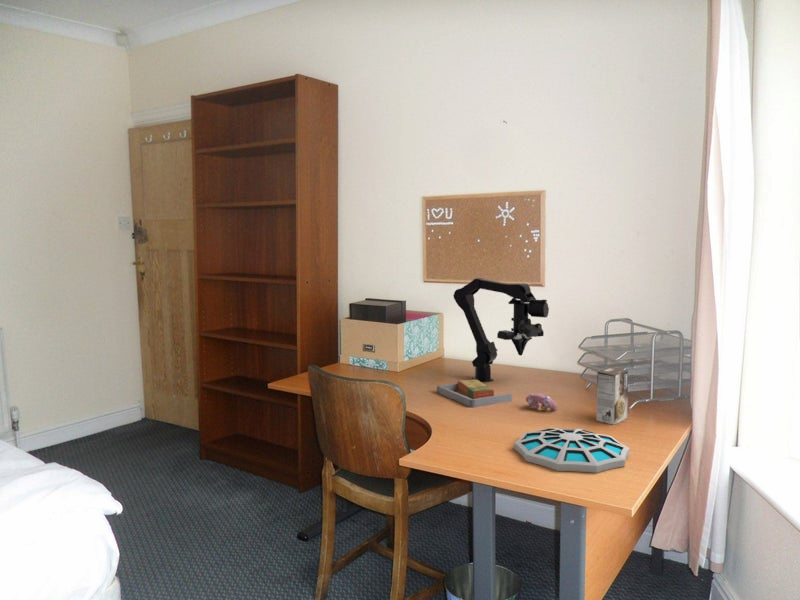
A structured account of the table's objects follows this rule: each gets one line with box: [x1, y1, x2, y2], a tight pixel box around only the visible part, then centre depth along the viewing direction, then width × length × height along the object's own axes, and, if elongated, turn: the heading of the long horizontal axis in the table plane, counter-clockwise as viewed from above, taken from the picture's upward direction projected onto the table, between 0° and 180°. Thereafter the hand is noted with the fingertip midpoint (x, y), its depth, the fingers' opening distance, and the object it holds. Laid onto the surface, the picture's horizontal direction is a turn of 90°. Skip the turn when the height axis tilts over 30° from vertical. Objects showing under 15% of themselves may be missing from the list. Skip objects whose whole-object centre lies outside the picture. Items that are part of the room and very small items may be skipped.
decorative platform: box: [513, 427, 631, 474], centre depth 168 cm, size 31×29×5 cm
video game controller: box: [525, 392, 558, 412], centre depth 209 cm, size 10×5×7 cm, turn 49°
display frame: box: [436, 382, 513, 408], centre depth 226 cm, size 23×17×2 cm
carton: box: [457, 379, 495, 399], centre depth 229 cm, size 8×16×4 cm, turn 15°
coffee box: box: [596, 366, 629, 426], centre depth 196 cm, size 9×6×16 cm
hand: (520, 355), depth 241 cm, fingers closed
